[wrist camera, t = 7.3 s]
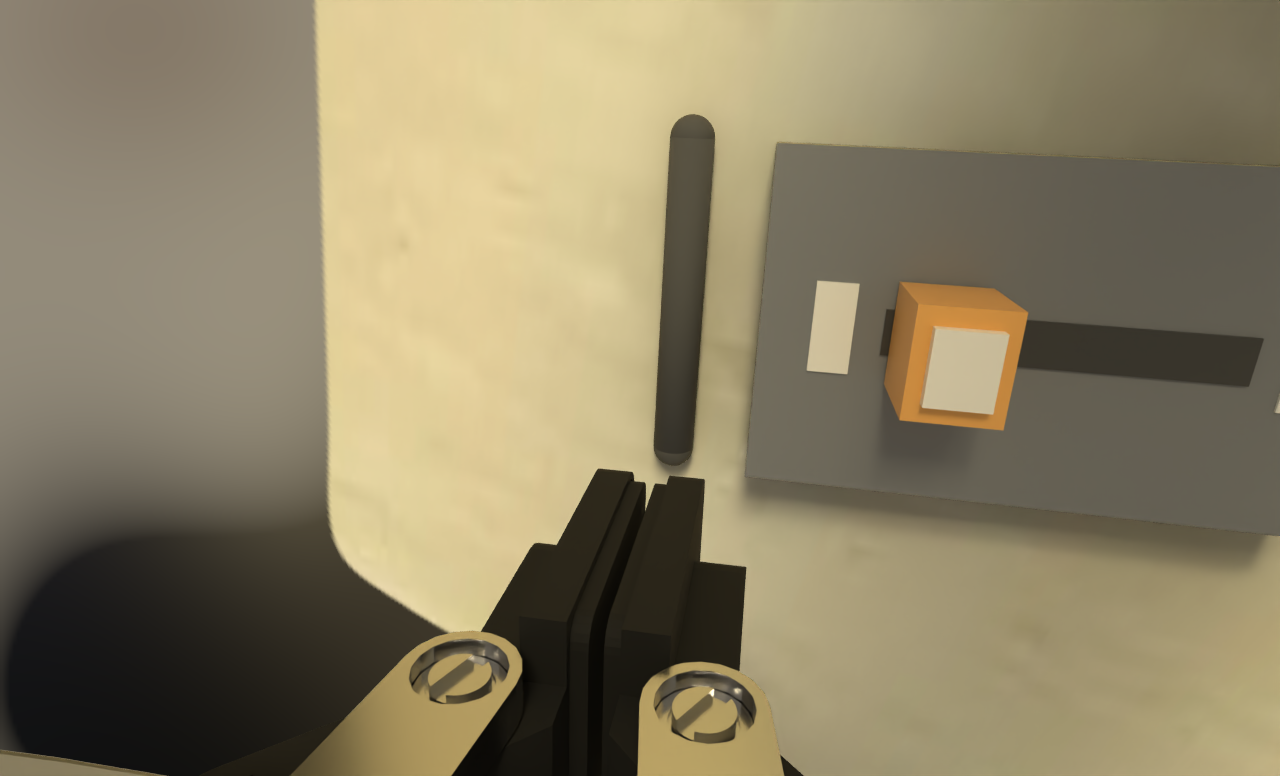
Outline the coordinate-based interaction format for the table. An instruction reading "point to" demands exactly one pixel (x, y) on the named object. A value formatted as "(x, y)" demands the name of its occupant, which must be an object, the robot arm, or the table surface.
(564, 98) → the table surface
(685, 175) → the dark grey rounded rod
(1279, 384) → the slider switch box
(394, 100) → the table surface
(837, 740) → the table surface
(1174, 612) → the table surface
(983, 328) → the block
